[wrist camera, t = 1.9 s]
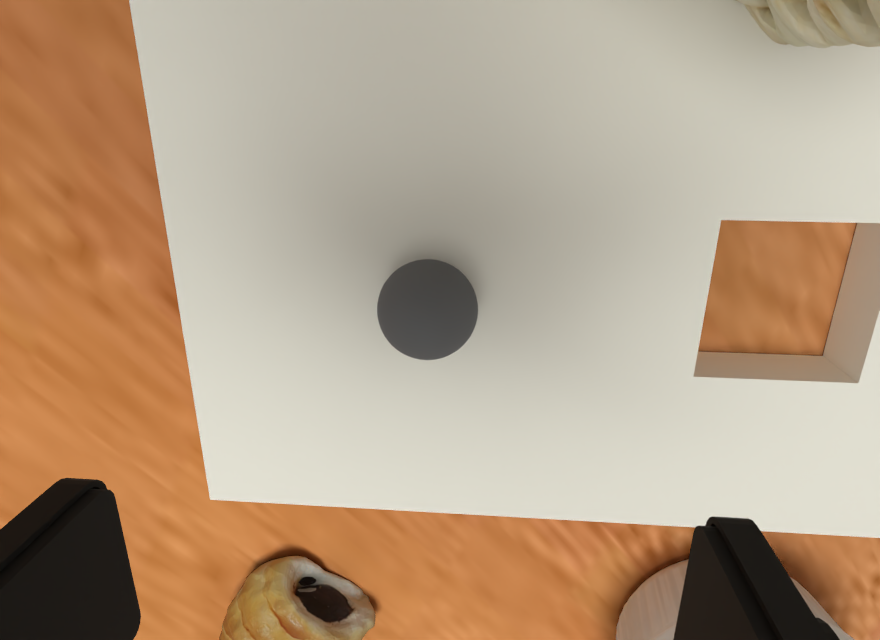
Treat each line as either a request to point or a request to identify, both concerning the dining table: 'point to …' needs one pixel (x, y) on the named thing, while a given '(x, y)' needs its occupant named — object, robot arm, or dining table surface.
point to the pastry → (297, 605)
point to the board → (513, 254)
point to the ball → (427, 309)
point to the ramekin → (658, 601)
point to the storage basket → (818, 21)
